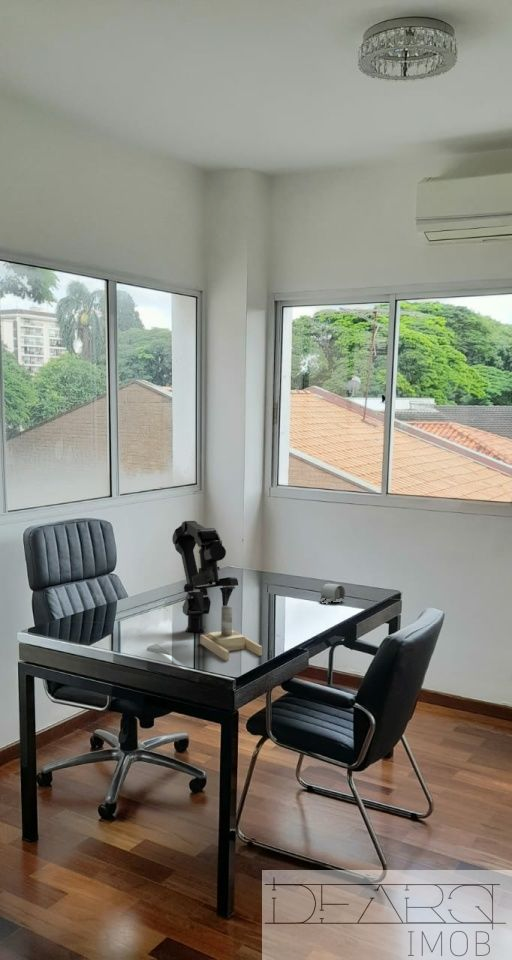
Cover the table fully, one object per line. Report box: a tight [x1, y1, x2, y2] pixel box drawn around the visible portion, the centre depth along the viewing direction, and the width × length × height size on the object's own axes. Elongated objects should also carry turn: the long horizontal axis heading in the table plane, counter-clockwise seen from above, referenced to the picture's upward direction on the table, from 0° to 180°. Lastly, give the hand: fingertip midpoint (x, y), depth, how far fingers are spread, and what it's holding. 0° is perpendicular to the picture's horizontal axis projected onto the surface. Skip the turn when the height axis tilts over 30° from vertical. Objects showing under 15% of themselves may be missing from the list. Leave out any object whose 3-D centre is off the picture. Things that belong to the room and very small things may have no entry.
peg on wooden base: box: [208, 605, 246, 652], centre depth 260 cm, size 9×9×14 cm
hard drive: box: [146, 641, 172, 657], centre depth 259 cm, size 2×8×12 cm
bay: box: [199, 630, 263, 661], centre depth 258 cm, size 20×14×4 cm
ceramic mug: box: [318, 583, 346, 603], centre depth 328 cm, size 11×8×8 cm
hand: (213, 610), depth 265 cm, fingers open, 9 cm apart
